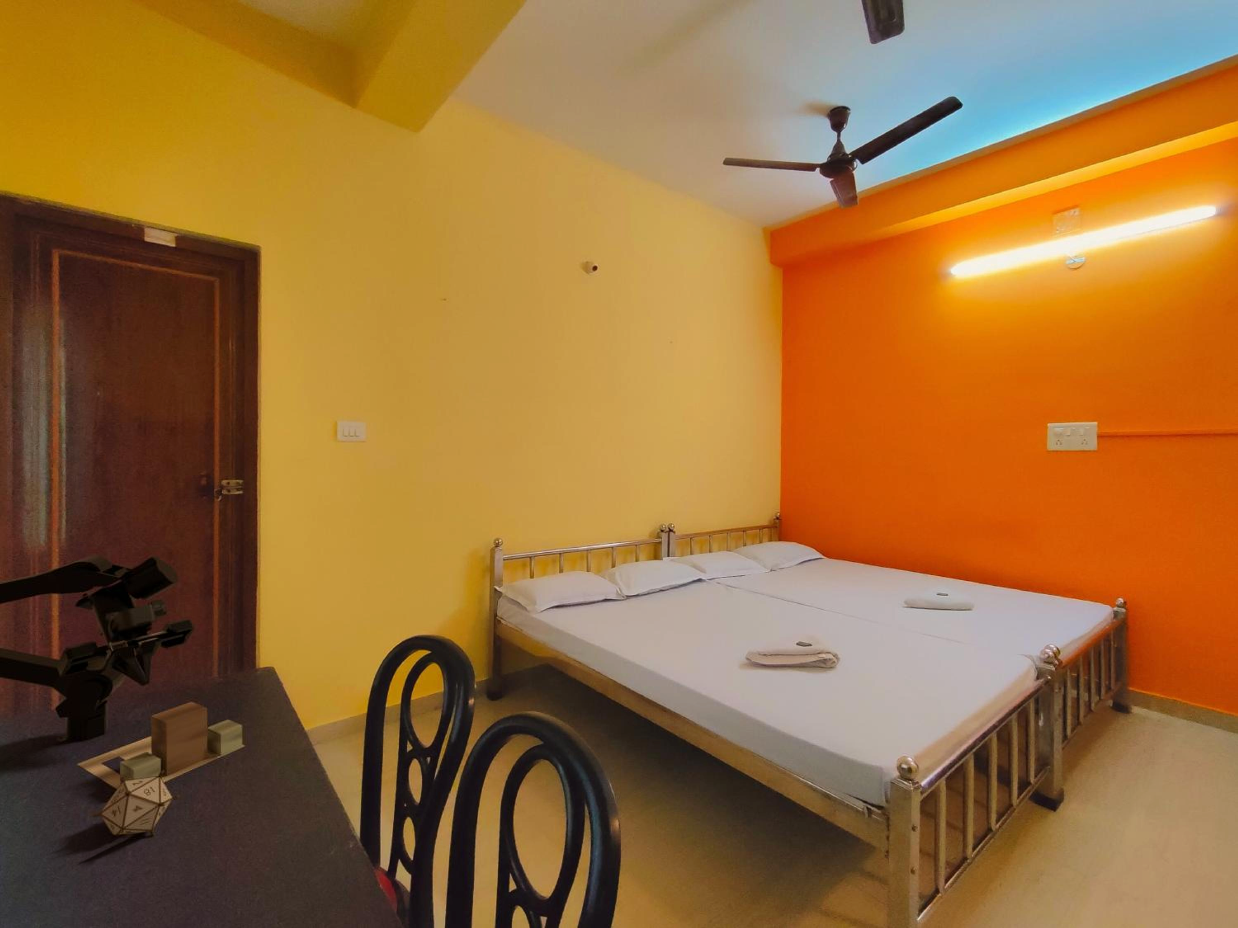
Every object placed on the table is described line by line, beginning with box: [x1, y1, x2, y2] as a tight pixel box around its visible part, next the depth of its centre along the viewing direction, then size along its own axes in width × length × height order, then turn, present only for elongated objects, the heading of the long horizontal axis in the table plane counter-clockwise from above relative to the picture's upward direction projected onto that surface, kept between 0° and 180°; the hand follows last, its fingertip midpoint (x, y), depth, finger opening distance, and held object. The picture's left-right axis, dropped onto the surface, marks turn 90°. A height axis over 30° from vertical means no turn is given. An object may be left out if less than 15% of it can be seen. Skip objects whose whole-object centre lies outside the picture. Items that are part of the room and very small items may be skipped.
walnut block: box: [150, 701, 208, 776], centre depth 96 cm, size 5×6×9 cm
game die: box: [90, 770, 181, 844], centre depth 80 cm, size 9×8×10 cm
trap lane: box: [76, 719, 246, 790], centre depth 98 cm, size 18×17×5 cm
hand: (146, 684), depth 100 cm, fingers closed
